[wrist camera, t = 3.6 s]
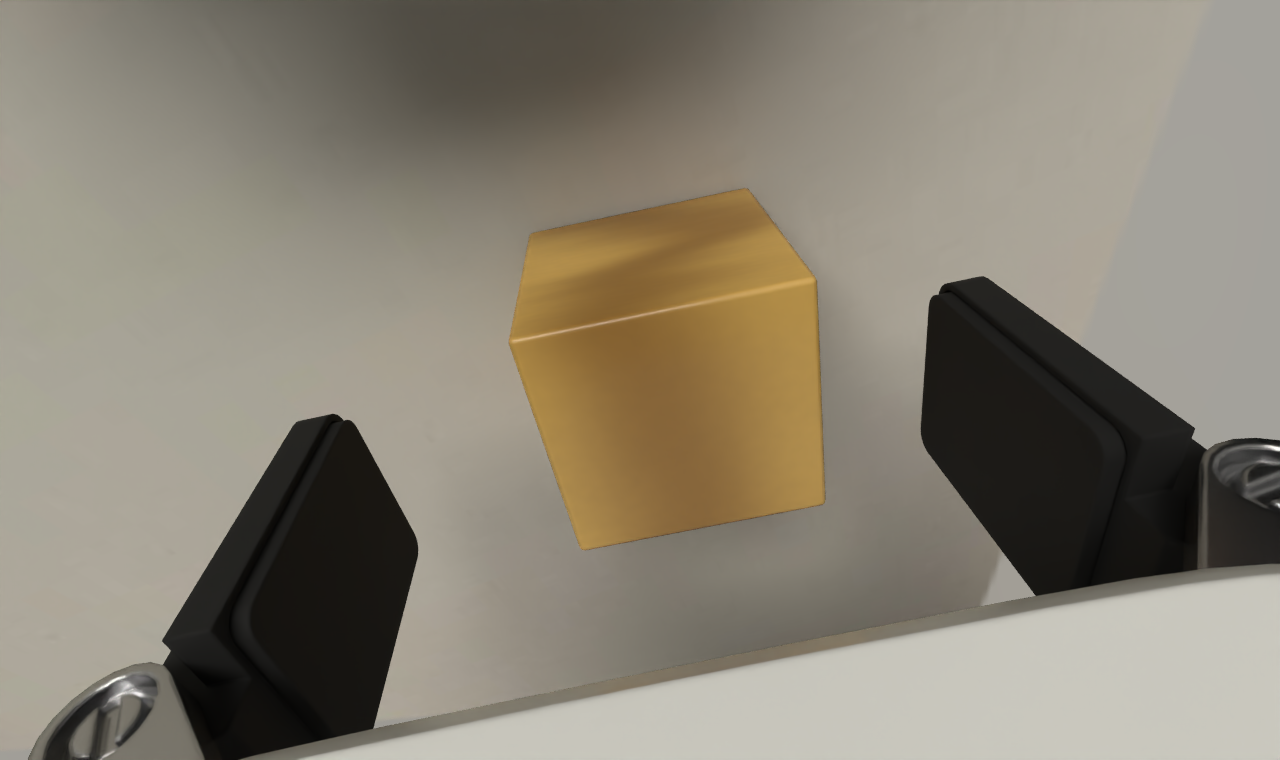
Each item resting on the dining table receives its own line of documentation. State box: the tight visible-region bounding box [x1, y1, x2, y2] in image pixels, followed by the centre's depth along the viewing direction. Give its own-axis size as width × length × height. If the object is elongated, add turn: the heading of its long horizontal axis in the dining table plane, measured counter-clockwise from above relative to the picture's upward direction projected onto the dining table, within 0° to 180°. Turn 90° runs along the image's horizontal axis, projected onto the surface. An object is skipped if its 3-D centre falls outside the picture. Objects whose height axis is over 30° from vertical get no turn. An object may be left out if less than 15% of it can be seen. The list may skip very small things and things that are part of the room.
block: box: [509, 188, 825, 550], centre depth 12 cm, size 4×4×4 cm
